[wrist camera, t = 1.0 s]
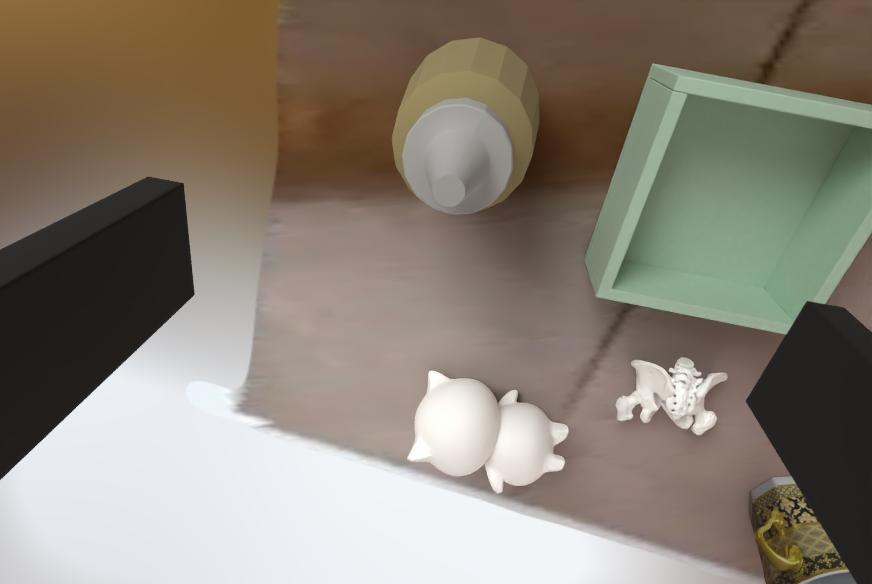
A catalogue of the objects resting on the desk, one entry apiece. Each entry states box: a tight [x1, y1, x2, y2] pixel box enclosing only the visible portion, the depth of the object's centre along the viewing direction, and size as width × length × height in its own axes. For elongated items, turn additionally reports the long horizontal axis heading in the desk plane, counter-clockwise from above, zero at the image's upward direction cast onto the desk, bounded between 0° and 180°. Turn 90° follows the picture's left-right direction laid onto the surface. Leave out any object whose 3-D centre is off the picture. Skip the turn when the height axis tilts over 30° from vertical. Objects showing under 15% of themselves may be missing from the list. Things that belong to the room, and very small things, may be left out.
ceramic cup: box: [749, 476, 857, 584], centre depth 43 cm, size 13×10×10 cm
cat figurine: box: [407, 371, 568, 494], centre depth 44 cm, size 9×11×12 cm
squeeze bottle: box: [392, 38, 539, 215], centre depth 26 cm, size 8×8×18 cm
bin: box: [584, 63, 872, 335], centre depth 32 cm, size 14×14×6 cm
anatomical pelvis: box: [616, 357, 727, 435], centre depth 41 cm, size 8×4×7 cm
